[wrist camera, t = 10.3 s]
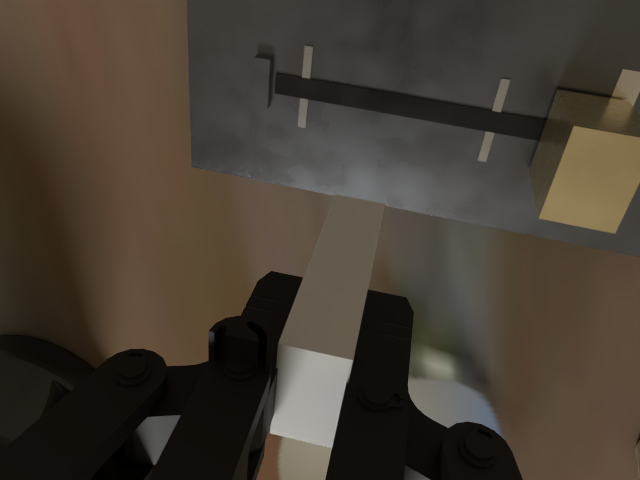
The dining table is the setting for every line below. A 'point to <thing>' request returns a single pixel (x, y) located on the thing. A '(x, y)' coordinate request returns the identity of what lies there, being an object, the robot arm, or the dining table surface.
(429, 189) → the console
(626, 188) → the block
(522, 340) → the dining table surface
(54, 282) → the dining table surface
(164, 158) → the dining table surface
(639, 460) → the flower pot
